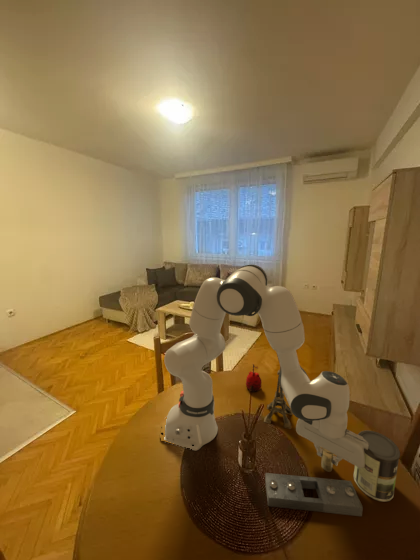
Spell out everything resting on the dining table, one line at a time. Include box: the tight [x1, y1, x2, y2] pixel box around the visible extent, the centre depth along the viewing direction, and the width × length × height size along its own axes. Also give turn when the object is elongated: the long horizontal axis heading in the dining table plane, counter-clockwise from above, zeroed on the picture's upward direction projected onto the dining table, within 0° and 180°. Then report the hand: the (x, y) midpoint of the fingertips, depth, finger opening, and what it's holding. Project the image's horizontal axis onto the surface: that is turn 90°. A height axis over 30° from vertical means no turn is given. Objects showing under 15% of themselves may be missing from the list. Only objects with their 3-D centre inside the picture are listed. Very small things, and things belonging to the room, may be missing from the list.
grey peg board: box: [264, 472, 364, 517], centre depth 69 cm, size 25×7×4 cm, turn 83°
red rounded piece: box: [245, 363, 262, 392], centre depth 116 cm, size 8×7×15 cm
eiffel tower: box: [263, 369, 293, 430], centre depth 97 cm, size 11×11×25 cm
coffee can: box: [353, 429, 401, 502], centre depth 71 cm, size 10×10×14 cm
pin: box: [320, 447, 334, 473], centre depth 77 cm, size 4×4×8 cm
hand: (327, 458), depth 77 cm, fingers closed on pin, 3 cm apart
